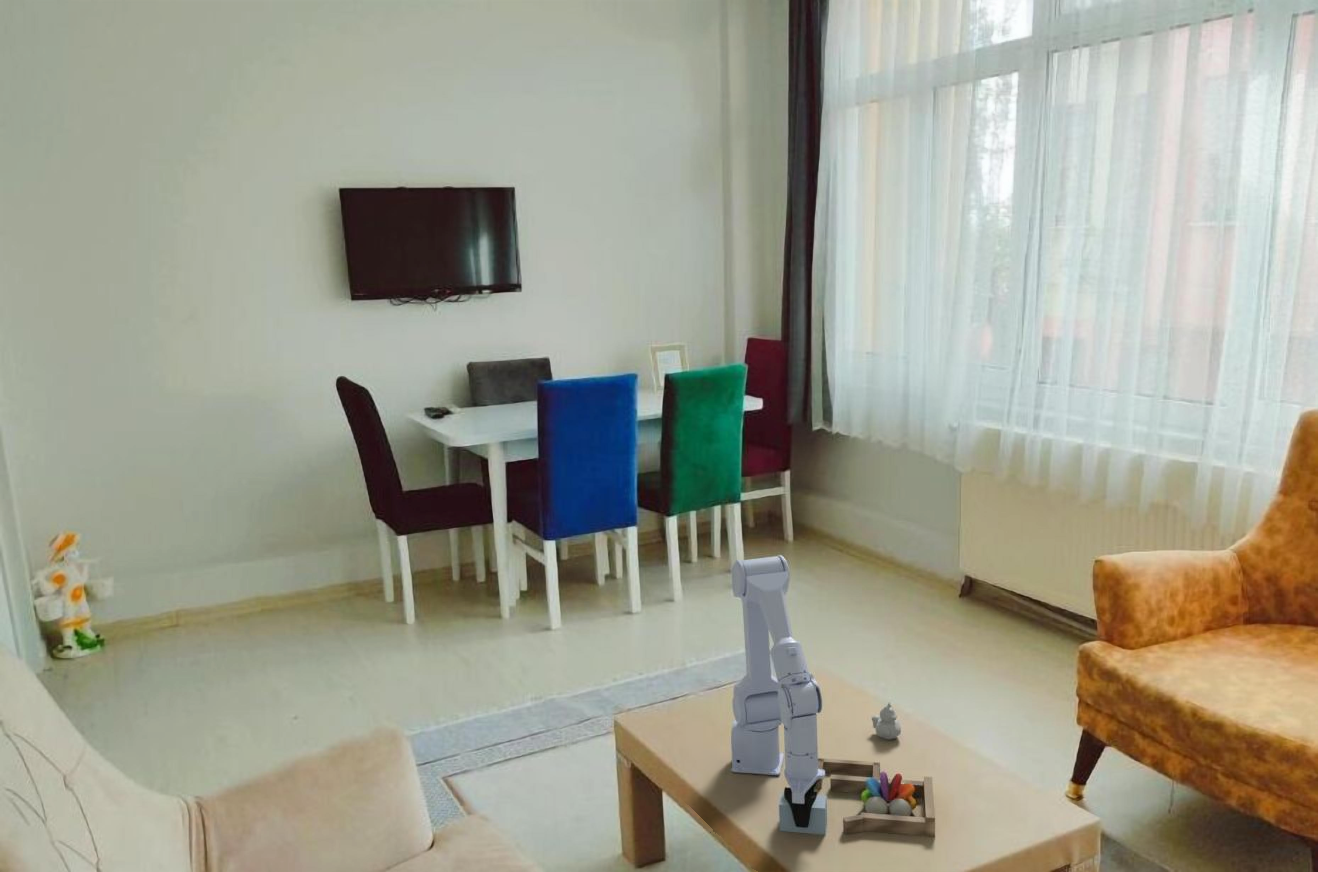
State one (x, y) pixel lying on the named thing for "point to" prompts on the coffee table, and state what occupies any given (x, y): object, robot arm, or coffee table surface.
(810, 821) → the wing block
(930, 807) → the frame
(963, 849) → the coffee table surface
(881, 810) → the rainbow fan toy
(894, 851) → the coffee table surface
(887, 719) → the grey figurine
